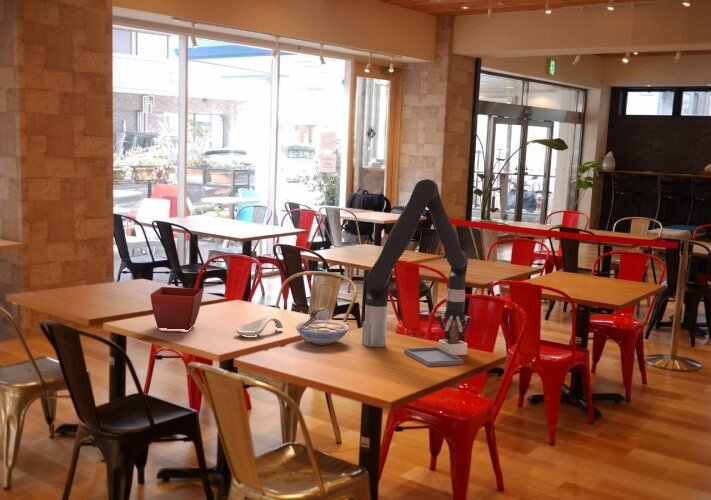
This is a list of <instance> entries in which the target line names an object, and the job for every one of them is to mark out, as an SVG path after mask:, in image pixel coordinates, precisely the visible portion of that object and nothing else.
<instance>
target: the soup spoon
mask: <svg viewBox="0 0 711 500" xmlns="http://www.w3.org/2000/svg"><path fill="white" fill-rule="evenodd" d="M330 315H331V310H330V309H329V308H328V307H325V306H320V307H317V308H314V309H313V310H312V311H311V312H310V316H309V319H310V318H311V317H313V318H312V319H314V318H315V317H317V319H315V320H323V321H328V320H329V321H330ZM312 319H311V320H312ZM311 320H310V321H311Z"/></svg>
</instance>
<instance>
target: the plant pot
mask: <svg viewBox="0 0 711 500" xmlns="http://www.w3.org/2000/svg"><path fill="white" fill-rule="evenodd" d="M203 293H204V289H202V288H194V287H193V288H192V287H190V288H188V287H172V286H171V287H170V286H161V287H159V288H157V289H156V290H155V291H152V292H151V293H150V294H149V295H150V301H151V302H150V303H151V307H152V312H153V316H154V319H155V322H156V326H157V329H158V328H167V329H185V330H189V329H190V328H191V327H192V326H193V325H194V324H196V322H197V319H198V315H199V313H200V308H201V305H202V300H203ZM194 326H195V325H194Z"/></svg>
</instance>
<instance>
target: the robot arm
mask: <svg viewBox="0 0 711 500" xmlns="http://www.w3.org/2000/svg"><path fill="white" fill-rule="evenodd" d="M426 209H427V210H428V212H429V215H430V216H431V220H432V224H433V226H434V230H435V232H436V234H437V237H438V239H439V242H440V244H441V246H442V247H443V251H444V254H445V258H446V261H447V263H448V265H449V266H450V274H449V275H448V279H447V280H448V282H447V291H446V299H445V300H446V302H445V303H446V304H445V311H444V313H442V314H441V313H439V314H438V316H437V318H438V322H439V325H440V329H441V330H443V331H444V338H445V340H448V332H449V331H448V329H449V326H450V324H451V321H452V320H457V323H458V327H459V338H458V341H461V340H463V339H462V338H463V333H464V332H465V331H466V332H467V330H468V328H469V324H470V323H471V320H472V316H468V315H466V313H465V305H466V303H465V302H466V276H467V270H468V264H469V259H468V255H467V253H466V252H465V251H464V250H462V249H461V247H460V244H459V238H458V236H457V233H456V230H455V229H454V226H453V224H452V222H451V220H450V218H449V216H448V214H447V213H446V212H447V211H446V210H445V207H444V205H443V201H442V198H441V195H440V191H439V186H438V183H437V182H436V181H434V179H433V180H432V179H431V178H422V179H420V180H418V181H417V182H416V183H415V186H414V188H413V190H412V193H411V195H410V197H409V199H408V202H407V204H406V206H405V207H404V209H403V210H402V212H401V214H400V215H399V216H398V218H397V220H396V221H395V223H394V224H393V226H392V229H391V230H390V232H389V234H388V236H387V238H386V240H385V243H384V245H383V247H382V250H381V252H380V254H379V256H378V258H377V260H376V261H375V262H374V264H373V266H371V268H370V269H369V271H368V272H367V274H366V277H365V281H366V285H367V286H366V295H365V296H366V297H365V310H364V311H365V312H364V321H363V322H362V331H361V333H362V334H361V344H362V345H364V346H366V347H367V348H368V347H369V348H370V347H371V348H381V347H382V348H383V347H385V346H386V343H387V337H386V336H387V319H388V304H389V303H388V302H389V292H390V276H391V273H392V271H393V269H394V267H395V265H396V264H397V262H398V261H399V259H400V258H401V257H402V256H403V255H404V253H405V251H406V250H407V248H408V247H409V245H410V243H411V241H412V239H414V236H415V234H416V231H417V229H418V226H419V223H420V220H421V217H422V215H423V213H424V211H426ZM444 318H445V319H446V320H447V322H446V324H445V325H446V326H445V325H444V321H443V320H444ZM463 320H464V321H465V324H464V326H462V321H463Z"/></svg>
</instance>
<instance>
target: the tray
mask: <svg viewBox="0 0 711 500" xmlns="http://www.w3.org/2000/svg"><path fill="white" fill-rule="evenodd" d="M403 353H404V355H407V356H409V357H410V358H412V359H415V360H416V361H417V362H420V363H422V364H424V365H425V366H426V367H440V366H441V367H442V366H454V365H456V366H457V365H463V363H464V359H462V358H460V357H459V356H458V355H453V354H451V353H449V352H447V351H445V350H443V349H441V348H439V346H427V347H426V346H425V347H413V348H411V347H410V348H404V349H403Z"/></svg>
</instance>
